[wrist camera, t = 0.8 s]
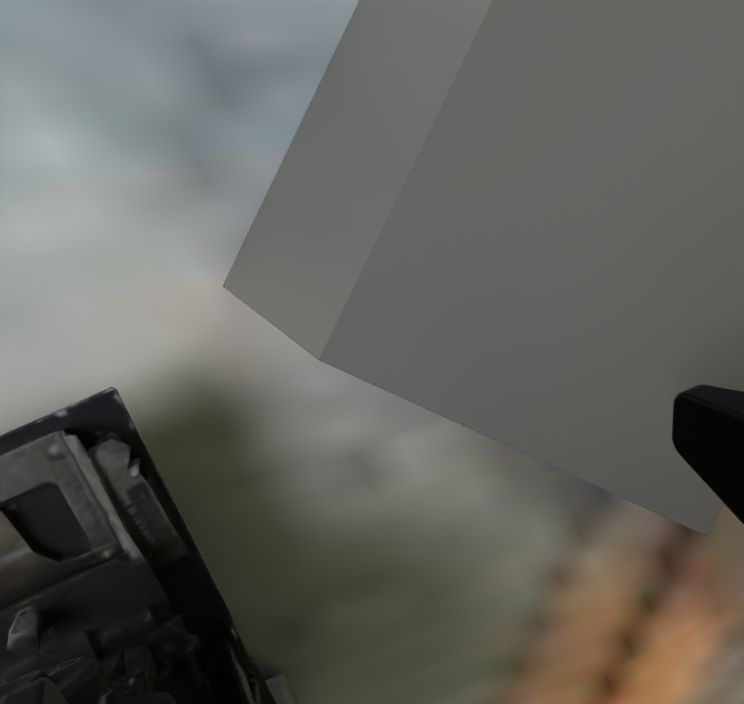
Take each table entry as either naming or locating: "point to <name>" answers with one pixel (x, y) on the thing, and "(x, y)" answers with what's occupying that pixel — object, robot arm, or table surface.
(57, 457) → the vintage camera
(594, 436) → the camera box
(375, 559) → the table surface
